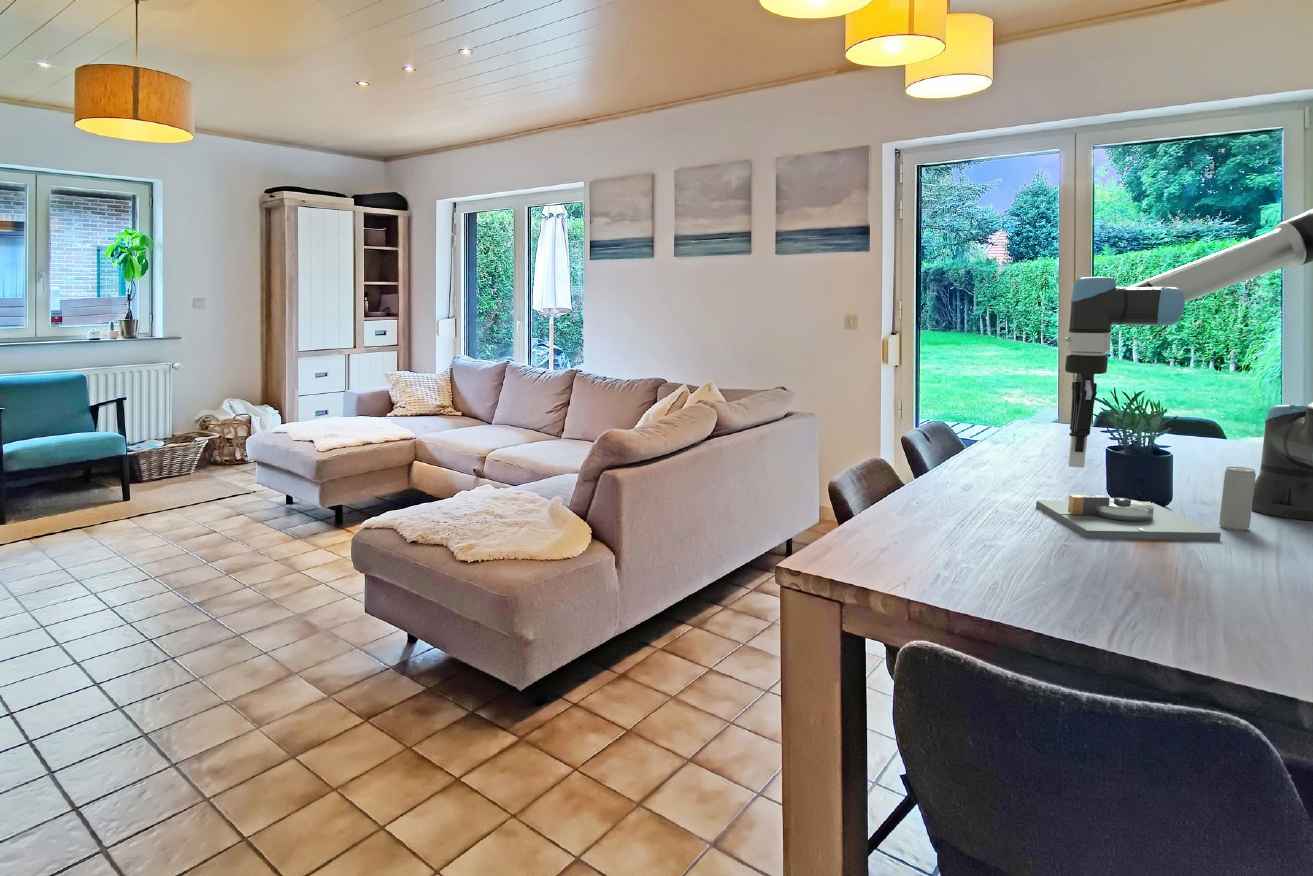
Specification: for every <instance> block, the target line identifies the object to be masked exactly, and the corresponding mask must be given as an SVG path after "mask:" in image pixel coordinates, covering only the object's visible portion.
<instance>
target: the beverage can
mask: <svg viewBox="0 0 1313 876" xmlns="http://www.w3.org/2000/svg"><path fill="white" fill-rule="evenodd" d="M1225 468H1226V469H1225V471H1224V478H1223V487H1222V496H1221V504H1220V505H1221V506H1220V513H1219V522H1218V524H1219V526H1220V527H1221V528H1223V529H1225V530H1228V531H1229V530H1230V531H1236V532H1237V531H1240V532H1241V531H1242V532H1243V531H1244V530H1245V531H1247V530H1249V529H1250V525H1251V519H1252V511H1253V510H1252V502H1253V494H1254V485H1255V481H1256V476H1257V474H1256V469H1254V468H1249V467H1244V466H1226V467H1225Z"/></svg>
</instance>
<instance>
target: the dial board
mask: <svg viewBox="0 0 1313 876" xmlns="http://www.w3.org/2000/svg"><path fill="white" fill-rule="evenodd" d="M1035 502H1036V503H1035V507H1036V508H1037V509H1038V510H1041V511H1042V512H1043V513H1045V514H1047V515H1048V516H1050V517H1052V518H1054V519H1055V520H1056V521H1058V522H1060V523H1061V524H1063V525H1065V526H1066V527H1068V528H1069V529H1071V530H1073V531H1074V532H1075V533H1077V534H1079V535H1080V536H1083V537H1084V538H1085V539H1108V540H1109V539H1110V540H1111V539H1113V540H1115V539H1117V540H1119V539H1121V540H1125V539H1126V540H1164V541H1165V540H1171V541H1172V540H1173V541H1178V540H1180V541H1221V534H1222V533H1221V532H1220V531H1217V530H1216V529H1213V528H1211V527H1208V526H1207V525H1204V524H1202V523H1199V522H1197V521H1195V520H1193V519H1191V518H1189V517H1186V516H1184V515H1181V514H1179V513H1177V512H1175V511H1172V510H1170V509H1169V508H1166V507H1163V506H1161V505H1159V504H1156V503H1154V502H1152V501H1143V502H1144V503H1147V504H1150V505H1152V506H1153V507H1154V514H1153V518H1152V519H1151V520H1146V521H1127V520H1117V519H1111V518H1106V517H1102V516H1098V515H1089V514H1071V513H1069V512H1068V505H1069V500H1053V499H1052V500H1051V499H1050V500H1049V499H1047V500H1045V499H1044V500H1043V499H1042V500H1040V499H1038V500H1037V499H1036V501H1035ZM1151 502H1152V503H1151Z"/></svg>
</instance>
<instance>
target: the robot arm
mask: <svg viewBox="0 0 1313 876" xmlns="http://www.w3.org/2000/svg"><path fill="white" fill-rule="evenodd" d="M1312 262H1313V208H1312V209H1310V210H1308V211H1306V212H1304V213H1301V214H1299V215H1297V216H1294V217H1292V218H1290V219H1288V220H1285V221H1282V222H1280V223H1278V224H1277V225H1276V226H1275V228H1274V229H1273V231H1270V232H1267V233H1265V234H1262V235H1260V236H1257V237H1254V238H1252V239H1249V240H1247V241H1244V242H1241V243H1238V244H1236V245H1234V246H1231V247H1229V248H1226V249H1223V250H1221V251H1218V252H1216V253H1213V254H1210V255H1208V256H1204V257H1203V258H1200V259H1197V260H1195V261H1193V262H1189V263H1187V264H1184V265H1182V266H1179V267H1177V268H1174V269H1171V270H1168V271H1167V272H1163V273H1162V274H1161V273H1160V274H1158V275H1155V276H1153V277H1151V278H1148V279H1145V280H1143V281H1141V282H1138V283H1135V284H1132V285H1129V286H1127V287H1123V286H1122V287H1121V286H1118V285H1117V279H1116V277H1112V276H1087V277H1085V276H1084V277H1080V278H1077V279H1076V280H1075V281H1074V283H1073V288H1072V295H1071V299H1070V316H1069V329H1068V336H1066V337H1065V338H1064V342H1066V343H1067V348H1066V349H1067V350H1066V351H1067V352H1068V353H1069V354H1067V355H1066V356H1065V367H1064V371H1065V372H1066V373H1068V374H1076V376H1075V381H1072V383H1071V407H1070V408H1071V409H1070V410H1071V411H1070V412H1071V413H1070V426H1069V430H1070V432H1069V437H1070V445H1069V456H1068V467H1070V468H1083V469H1084V468H1085V462H1086V452H1087V441H1088V436H1090V434H1091V425H1092V421H1093V420H1092V419H1093V413H1094V406H1095V400H1096V396H1097V395H1098V392H1097V386H1098V383H1097V382H1095V375H1103V374H1104V375H1105V374H1106V373H1107V372H1108V361H1109V357H1108V356H1107V355H1106V354H1107V353H1109V351H1110V344H1111V336H1112V326H1113V325H1115V326H1116V325H1117V326H1124V325H1126V326H1127V325H1128V326H1157V327H1160V326H1172V325H1176V324H1178V322H1179V321H1180V320H1181V319H1182V316H1183V314H1184V310H1185V304H1186V303H1188V302H1192V301H1194V300H1196V299H1199V298H1201V297H1204V296H1208V295H1210V294H1213V293H1215V292H1219V291H1221V290H1223V289H1227V288H1229V287H1232V286H1234V285H1237V284H1240V283H1243V282H1245V281H1248V280H1251V279H1254V278H1256V277H1258V276H1262V275H1264V274H1268V273H1269V272H1273V271H1275V270H1279V269H1281V268H1284V267H1286V266H1290V267H1292V268H1293V267H1294V268H1297V267H1301V266H1304V265H1306V264H1309V263H1312ZM1264 423H1265V424H1264V434H1263V435H1264V436H1263V445H1262V453H1261V454H1262V455H1261V462H1260V470H1259V473H1258V476H1257V478H1255V485H1254V494H1253V502H1252V510H1251V511H1255V512H1257V513H1261V514H1264V515H1270V516H1276V517H1281V518H1287V519H1288V518H1289V519H1296V520H1308V521H1309V520H1310V521H1311V520H1313V401H1312V402H1310V403H1309V404H1276V405H1272V406H1270V408H1268V411H1267V414H1266V418H1265V420H1264Z"/></svg>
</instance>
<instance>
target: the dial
mask: <svg viewBox="0 0 1313 876" xmlns="http://www.w3.org/2000/svg"><path fill="white" fill-rule="evenodd" d="M1068 501H1069V505H1068V512H1069V513H1071V514H1089V515H1098V516H1102V517H1106V518H1111V519H1117V520H1127V521H1146V520H1151V519H1152V518H1153V514H1154V507H1153V506H1152V505H1150V504H1147V503H1144V502H1145V501H1139V500H1135V499H1130V498H1126V497H1109V496H1107V495H1105V494H1104V495H1100V494H1095V495H1094V494H1069V495H1068Z"/></svg>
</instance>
